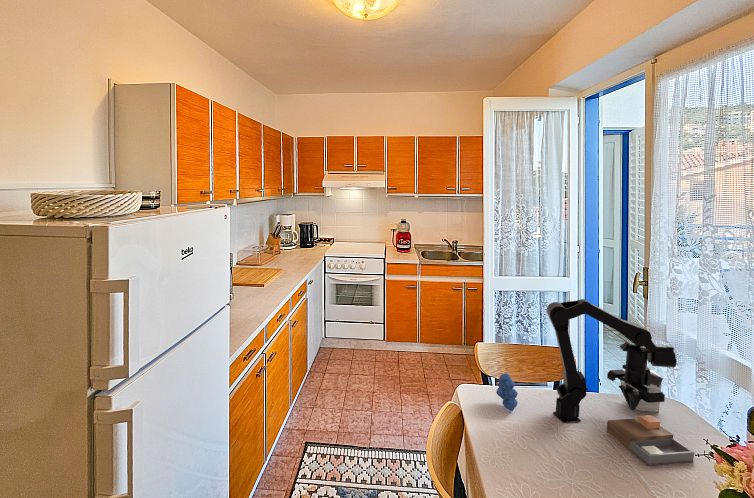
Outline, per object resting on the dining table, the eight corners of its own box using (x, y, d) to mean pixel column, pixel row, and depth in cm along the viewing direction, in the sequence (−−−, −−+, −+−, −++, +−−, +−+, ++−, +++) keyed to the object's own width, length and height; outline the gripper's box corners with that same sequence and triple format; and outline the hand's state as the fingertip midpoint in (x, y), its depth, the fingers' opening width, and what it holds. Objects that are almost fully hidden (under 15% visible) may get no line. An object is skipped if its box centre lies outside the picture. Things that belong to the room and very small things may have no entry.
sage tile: (641, 446, 122) (640, 452, 122) (651, 454, 118) (650, 461, 118) (654, 445, 122) (653, 452, 122) (664, 453, 118) (664, 460, 118)
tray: (648, 466, 117) (649, 455, 117) (629, 450, 124) (630, 441, 124) (693, 462, 119) (694, 452, 118) (672, 447, 126) (673, 437, 126)
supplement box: (659, 412, 147) (662, 377, 145) (636, 410, 148) (639, 375, 147) (650, 402, 154) (653, 369, 152) (628, 400, 155) (630, 367, 154)
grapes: (488, 400, 154) (489, 369, 153) (505, 399, 156) (507, 368, 154) (502, 416, 143) (504, 382, 142) (521, 415, 144) (523, 381, 143)
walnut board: (629, 450, 124) (630, 437, 124) (606, 432, 134) (607, 420, 133) (672, 447, 126) (673, 434, 125) (646, 429, 136) (647, 417, 135)
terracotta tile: (647, 428, 129) (648, 422, 129) (638, 421, 133) (638, 415, 132) (659, 427, 129) (660, 421, 129) (649, 421, 133) (650, 415, 133)
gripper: (682, 374, 128) (678, 423, 130) (637, 352, 146) (633, 395, 148) (649, 376, 126) (645, 425, 128) (607, 354, 145) (604, 397, 147)
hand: (632, 410), depth 138 cm, fingers closed
